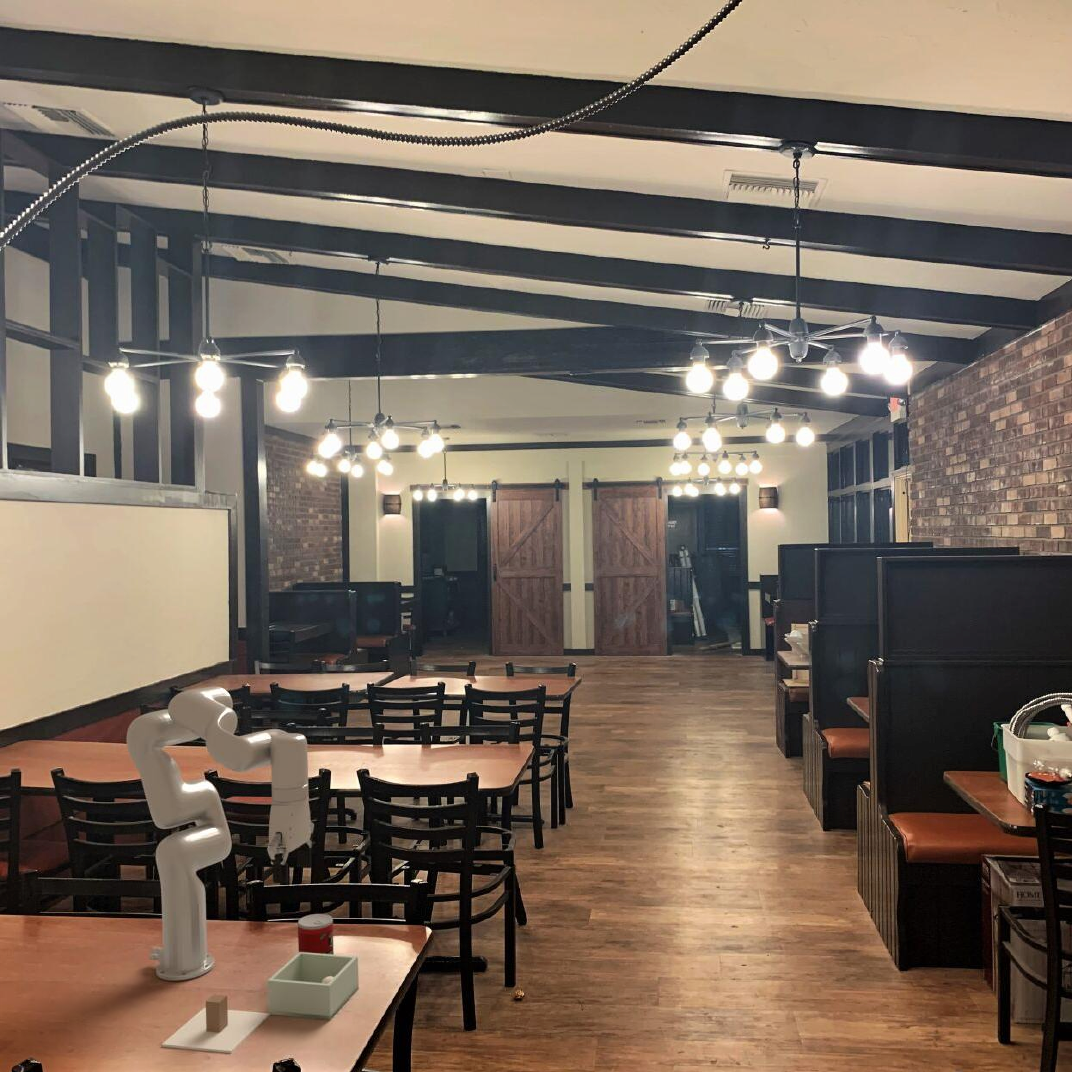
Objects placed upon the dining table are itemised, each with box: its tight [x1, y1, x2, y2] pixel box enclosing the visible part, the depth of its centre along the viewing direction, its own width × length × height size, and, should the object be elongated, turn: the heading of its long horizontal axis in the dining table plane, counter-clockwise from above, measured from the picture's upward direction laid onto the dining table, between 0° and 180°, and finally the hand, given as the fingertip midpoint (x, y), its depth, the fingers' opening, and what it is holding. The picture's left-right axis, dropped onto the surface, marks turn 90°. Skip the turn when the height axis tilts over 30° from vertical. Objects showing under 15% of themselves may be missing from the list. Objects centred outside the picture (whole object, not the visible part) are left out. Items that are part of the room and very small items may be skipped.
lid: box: [161, 994, 270, 1054], centre depth 193 cm, size 15×15×7 cm
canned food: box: [297, 913, 335, 955], centre depth 221 cm, size 8×8×11 cm
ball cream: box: [322, 976, 334, 984], centre depth 206 cm, size 4×4×4 cm
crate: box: [267, 951, 360, 1021], centre depth 204 cm, size 14×14×7 cm
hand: (292, 874), depth 202 cm, fingers open, 9 cm apart
